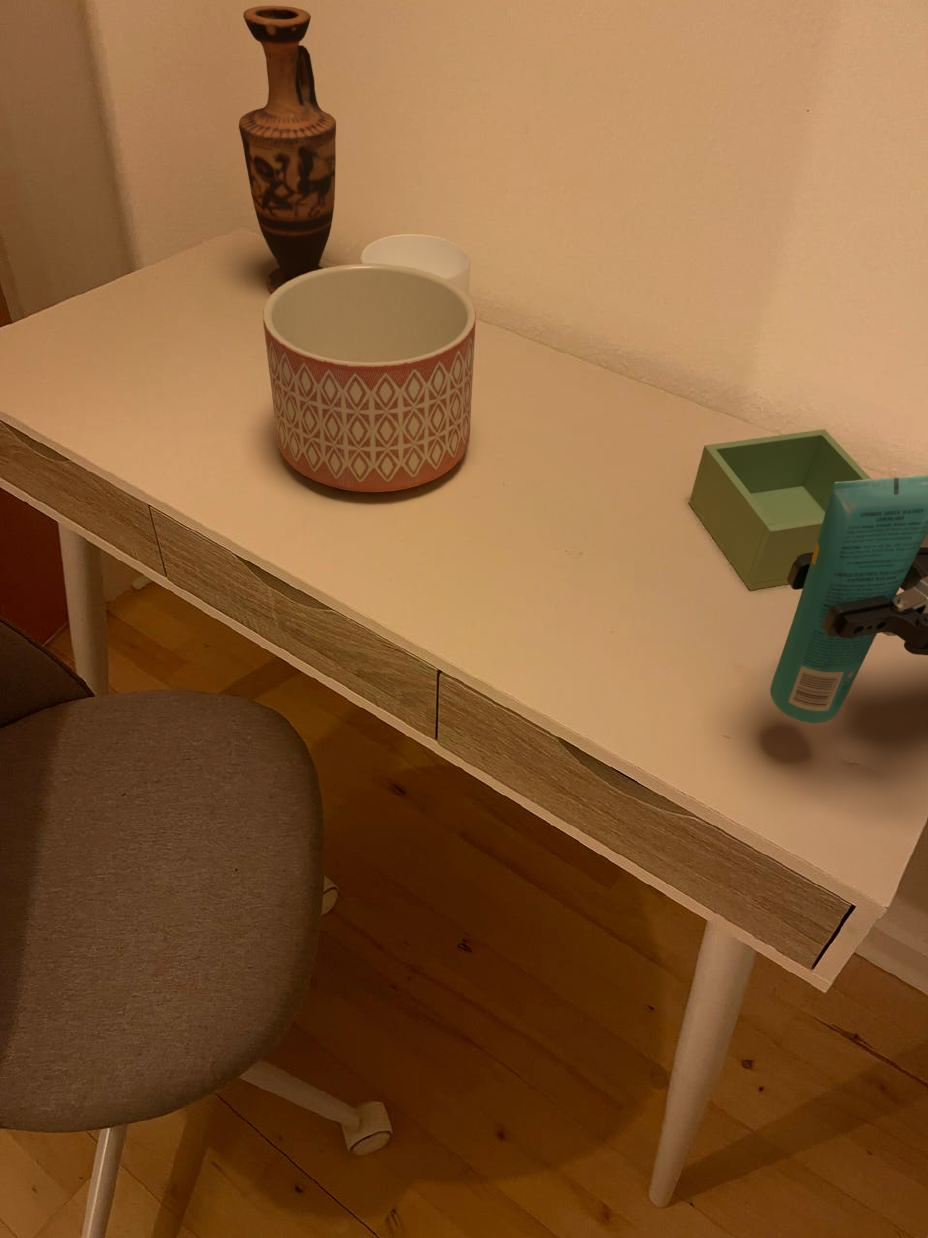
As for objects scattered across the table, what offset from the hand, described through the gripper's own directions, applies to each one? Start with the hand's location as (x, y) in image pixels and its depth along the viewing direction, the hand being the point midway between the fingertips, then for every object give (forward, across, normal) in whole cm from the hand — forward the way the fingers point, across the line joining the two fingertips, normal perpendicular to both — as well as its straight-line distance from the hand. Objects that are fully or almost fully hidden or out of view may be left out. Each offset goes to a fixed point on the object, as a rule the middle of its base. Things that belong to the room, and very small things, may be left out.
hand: (811, 597), depth 59 cm
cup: (+11, -60, +15) cm, 63 cm away
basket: (-15, -22, +16) cm, 31 cm away
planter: (+19, -44, +16) cm, 51 cm away
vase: (+21, -80, +15) cm, 84 cm away
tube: (-3, 0, +11) cm, 11 cm away
